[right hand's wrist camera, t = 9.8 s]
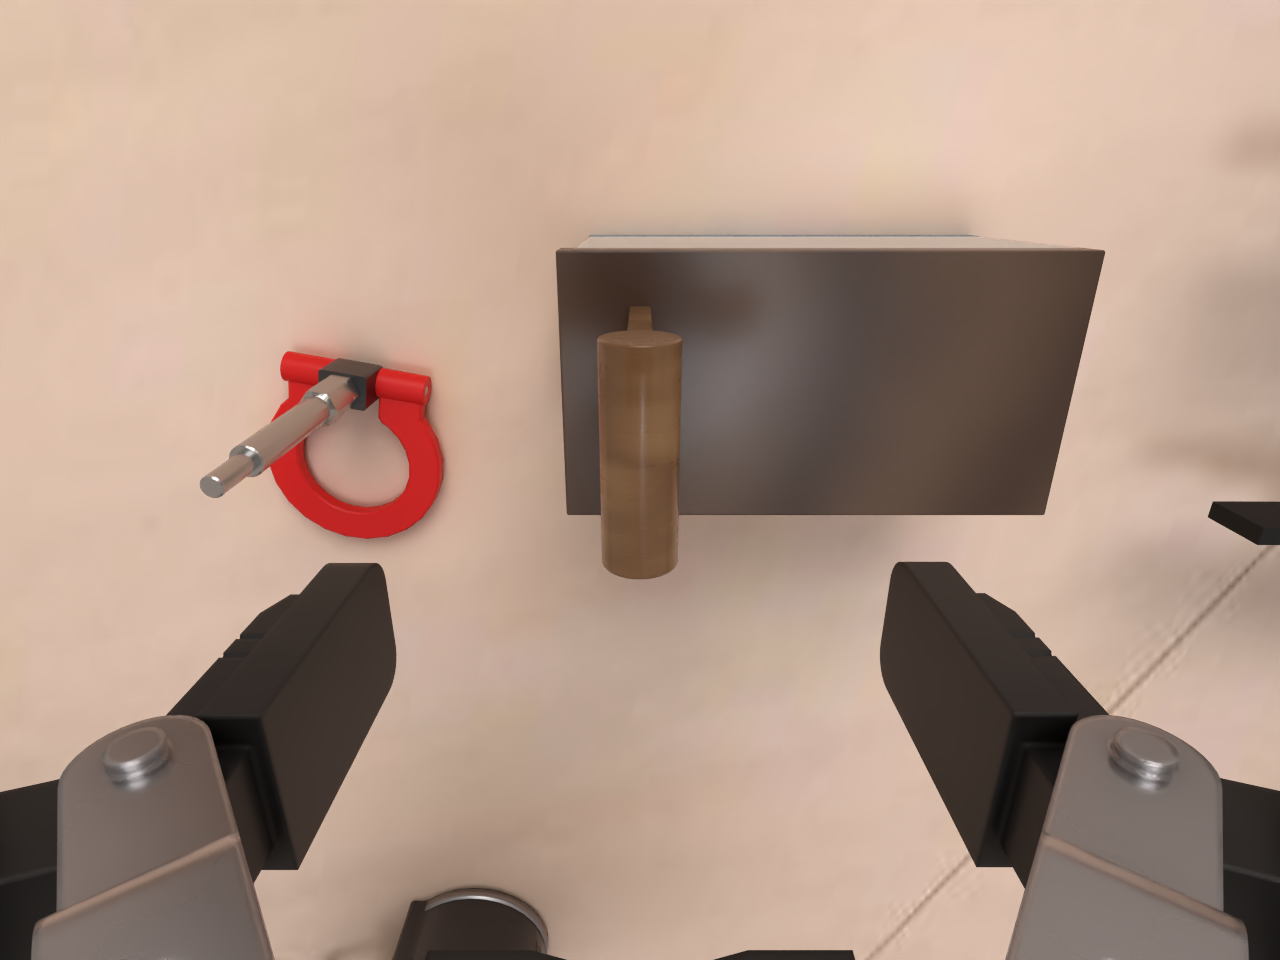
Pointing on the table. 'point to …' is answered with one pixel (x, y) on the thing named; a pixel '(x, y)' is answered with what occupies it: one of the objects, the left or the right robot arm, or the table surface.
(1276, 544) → the left robot arm
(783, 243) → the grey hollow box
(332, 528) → the tow hook
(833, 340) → the lid
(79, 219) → the table surface
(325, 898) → the table surface
